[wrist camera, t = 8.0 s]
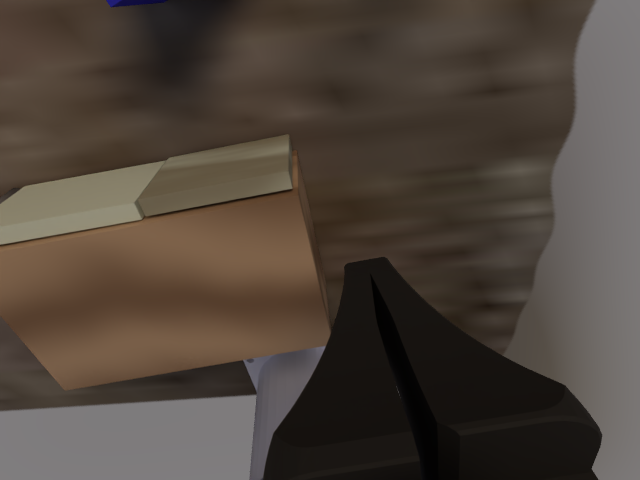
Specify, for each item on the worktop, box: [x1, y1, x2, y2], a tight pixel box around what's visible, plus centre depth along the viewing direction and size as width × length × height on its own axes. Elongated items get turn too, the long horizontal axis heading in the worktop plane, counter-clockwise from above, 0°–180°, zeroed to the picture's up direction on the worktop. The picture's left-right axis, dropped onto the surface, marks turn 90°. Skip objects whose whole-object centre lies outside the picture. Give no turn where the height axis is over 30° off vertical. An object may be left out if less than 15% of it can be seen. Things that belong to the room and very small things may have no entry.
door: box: [0, 161, 166, 245], centre depth 18 cm, size 1×9×5 cm, turn 100°
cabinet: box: [0, 134, 331, 391], centre depth 21 cm, size 10×15×5 cm, turn 100°
